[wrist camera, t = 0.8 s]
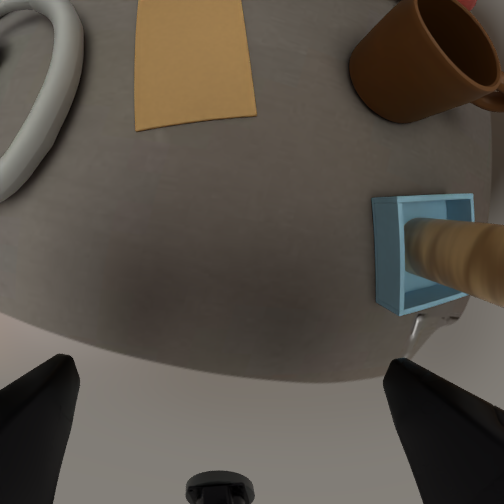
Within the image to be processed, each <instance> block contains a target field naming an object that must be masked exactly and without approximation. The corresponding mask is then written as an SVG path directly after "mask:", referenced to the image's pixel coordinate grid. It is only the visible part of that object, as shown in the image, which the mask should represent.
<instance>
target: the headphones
mask: <svg viewBox="0 0 504 504" xmlns="http://www.w3.org/2000/svg"><path fill="white" fill-rule="evenodd" d="M25 9H29V10H35V11H36V12H38V13H41V14H43V15H45V16H46V17H48V18H49V20H50V21H51V22H52V24H53V27H54V35H55V39H54V47H53V54H52V60H51V63H50V67H49V71H48V73H47V76H46V78H45V81H44V84H43V86H42V88H41V90H40V92H39V95H38V97H37V99H36V101H35V103H34V105H33V107H32V109H31V112H30V114H29V116H28V117H27V119H26V121H25V122H24V124H23V126H22V127H21V129H20V131H19V132H18V134H17V136H16V137H15V139H14V140H13V142H12V144H11V145H10V147H9V149H8V150H7V151H6V152H5V154H4V155H3V156H2V157H1V159H0V203H1V202H3V201H4V200H6V199H7V198H8V197H10V196H11V195H12V194H14V193H15V192H16V191H17V190H18V189H19V188H20V187H21V186H22V185H23V184H24V183H25V182H26V181H27V180H28V179H29V177H30V176H31V175H32V173H33V172H34V170H35V169H36V168H37V166H38V165H39V164H40V162H41V161H42V159H43V158H44V157H45V155H46V154H47V153H48V151H49V150H50V149H51V147H52V146H53V144H54V141H55V139H56V137H57V135H58V132H59V130H60V128H61V126H62V124H63V122H64V120H65V118H66V116H67V114H68V111H69V109H70V107H71V104H72V102H73V99H74V96H75V93H76V90H77V87H78V84H79V80H80V76H81V71H82V64H83V49H84V29H83V26H82V23H81V21H80V19H79V16H78V14H77V12H76V10H75V9H74V7H73V5H72V3H71V2H70V1H69V0H4V1H3V2H1V3H0V17H2V16H3V15H5V14H7V13H9V12H13V11H17V10H25Z"/></svg>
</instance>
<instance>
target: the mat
mask: <svg viewBox="0 0 504 504" xmlns="http://www.w3.org/2000/svg"><path fill="white" fill-rule="evenodd" d="M134 101H135V131H136V132H139V131H144V130H149V129H155V128H160V127H166V126H173V125H179V124H186V123H193V122H201V121H209V120H219V119H229V118H240V117H254V116H257V111H256V103H255V95H254V88H253V80H252V73H251V65H250V58H249V51H248V44H247V37H246V30H245V23H244V17H243V10H242V3H241V0H139V1H138V11H137V24H136V41H135V71H134Z"/></svg>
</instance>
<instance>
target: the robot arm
mask: <svg viewBox="0 0 504 504" xmlns="http://www.w3.org/2000/svg"><path fill="white" fill-rule="evenodd" d="M79 386H80V378H79V374H78V372H77V369H76V366H75V363H74V360H73V358H72V357H71V356H70V355H65V354H57V355H55V356H53V357H52V358H50V359H49V360H47V361H46V362H44V363H42V364H41V365H39V366H38V367H36V368H34V369H33V370H31V371H30V372H28V373H26V374H25V375H23V376H22V377H20V378H19V379H17V380H15V381H14V382H12V383H11V384H9V385H7V386H6V387H4V388H3V389H1V390H0V504H53V500H54V495H55V490H56V486H57V481H58V477H59V473H60V468H61V464H62V460H63V456H64V453H65V449H66V445H67V442H68V438H69V435H70V431H71V426H72V422H73V416H74V411H75V405H76V400H77V396H78V391H79ZM383 387H384V391H385V394H386V397H387V400H388V404H389V408H390V411H391V415H392V418H393V422H394V425H395V427H396V430H397V433H398V436H399V438H400V441H401V443H402V446H403V448H404V451H405V454H406V456H407V459H408V461H409V464H410V466H411V469H412V472H413V475H414V478H415V481H416V483H417V486H418V489H419V492H420V495H421V498H422V500H423V504H504V410H502V409H500V408H498V407H496V406H493V405H492V404H491V403H489V402H487V401H485V400H483V399H481V398H479V397H477V396H475V395H473V394H472V393H470V392H468V391H466V390H464V389H462V388H460V387H458V386H457V385H455V384H453V383H451V382H449V381H447V380H445V379H443V378H442V377H440V376H438V375H436V374H434V373H432V372H430V371H429V370H427V369H425V368H423V367H421V366H419V365H418V364H416V363H414V362H412V361H410V360H409V359H407V358H398V359H394V360H392V361H391V363H390V365H389V368H388V370H387V372H386V375H385V377H384V380H383ZM187 491H188V493H189V495H190V497H191V499H192V501H193V503H194V504H250V502H249V498H248V494H247V491H246V487H245V484H244V483H242V482H239V483H229V484H218V485H202V486H188V487H187Z"/></svg>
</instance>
